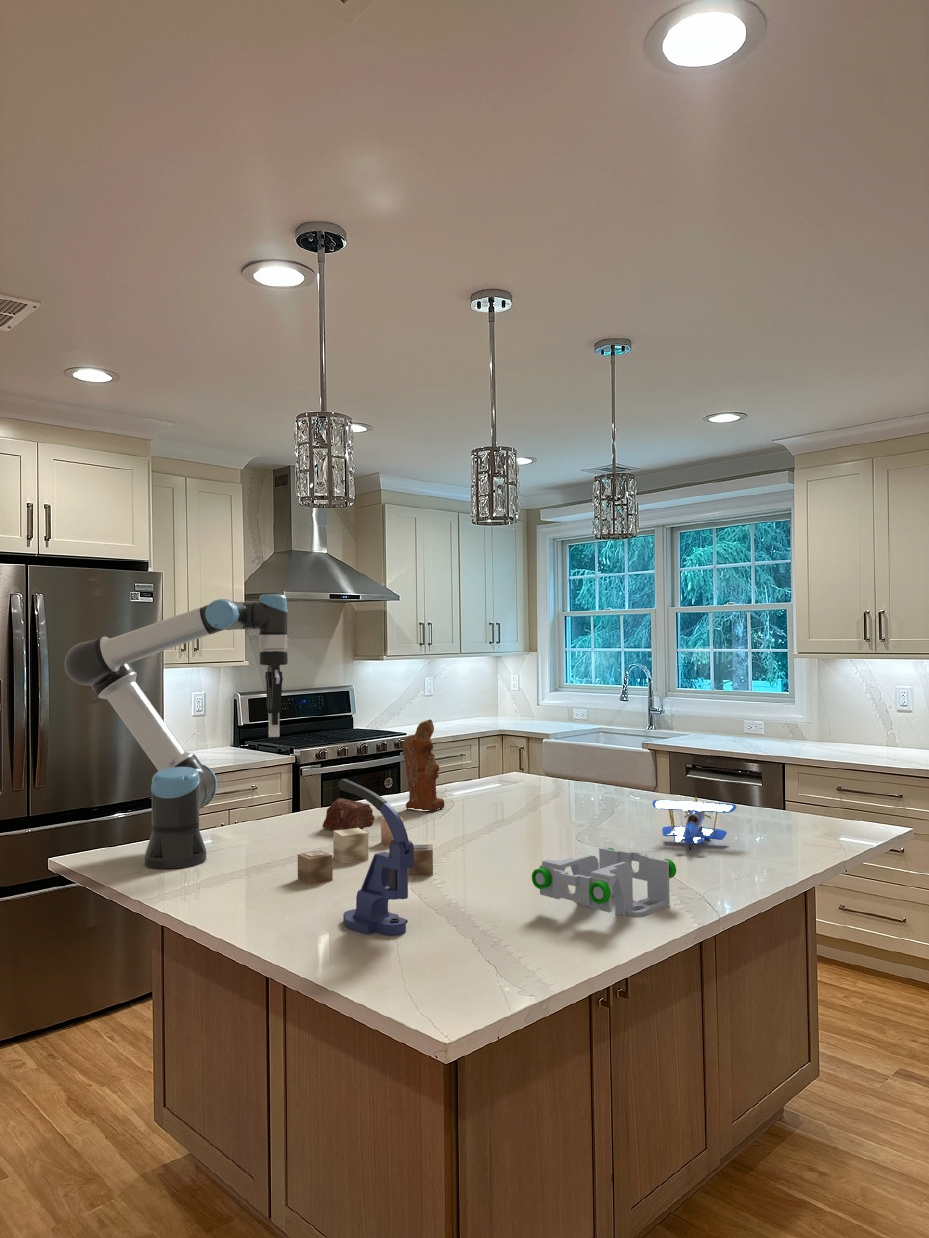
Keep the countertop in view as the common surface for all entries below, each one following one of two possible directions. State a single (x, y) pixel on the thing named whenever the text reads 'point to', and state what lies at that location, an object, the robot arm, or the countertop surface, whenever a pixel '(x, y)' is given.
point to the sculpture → (421, 769)
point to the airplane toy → (693, 820)
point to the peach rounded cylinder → (386, 832)
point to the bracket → (607, 881)
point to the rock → (348, 815)
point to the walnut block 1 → (315, 867)
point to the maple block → (350, 845)
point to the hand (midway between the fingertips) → (274, 736)
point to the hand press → (381, 874)
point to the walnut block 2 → (422, 860)
